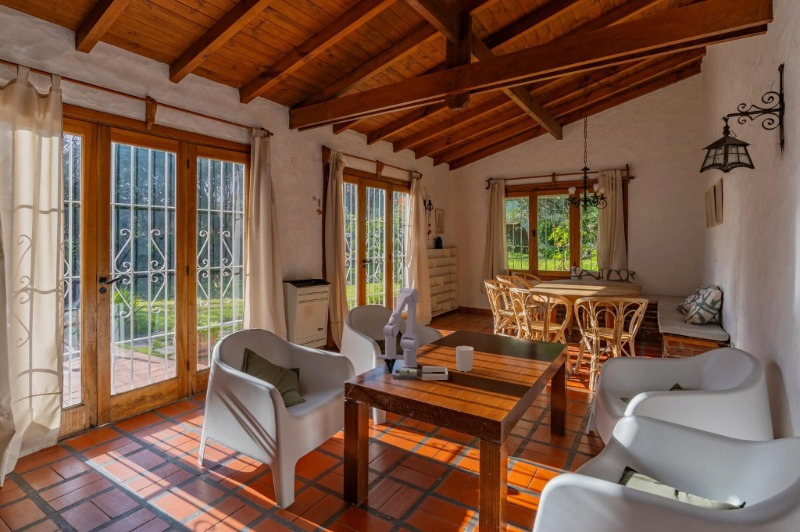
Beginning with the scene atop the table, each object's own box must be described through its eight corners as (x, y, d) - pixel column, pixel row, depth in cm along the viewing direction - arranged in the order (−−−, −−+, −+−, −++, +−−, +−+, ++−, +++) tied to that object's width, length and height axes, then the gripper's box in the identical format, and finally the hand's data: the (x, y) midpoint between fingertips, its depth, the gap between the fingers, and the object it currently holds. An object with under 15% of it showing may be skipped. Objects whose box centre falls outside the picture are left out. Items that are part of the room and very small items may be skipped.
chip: (408, 374, 226) (408, 369, 226) (416, 374, 226) (416, 369, 225) (408, 377, 222) (408, 371, 222) (416, 377, 222) (416, 371, 221)
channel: (395, 371, 230) (395, 369, 230) (419, 372, 229) (419, 370, 229) (393, 379, 218) (393, 376, 218) (419, 379, 218) (419, 377, 217)
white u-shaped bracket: (422, 371, 230) (422, 366, 230) (446, 372, 230) (446, 366, 230) (422, 380, 216) (422, 374, 216) (448, 380, 216) (448, 375, 216)
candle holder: (452, 368, 237) (452, 346, 236) (467, 366, 240) (468, 345, 240) (460, 373, 228) (461, 351, 227) (476, 371, 231) (477, 349, 231)
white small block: (399, 374, 226) (399, 369, 226) (407, 374, 226) (407, 369, 226) (399, 377, 222) (399, 371, 222) (407, 377, 222) (407, 371, 222)
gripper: (376, 349, 220) (376, 375, 221) (404, 349, 219) (404, 375, 220) (377, 345, 227) (377, 370, 228) (404, 346, 226) (404, 371, 227)
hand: (390, 373), depth 224 cm, fingers closed
